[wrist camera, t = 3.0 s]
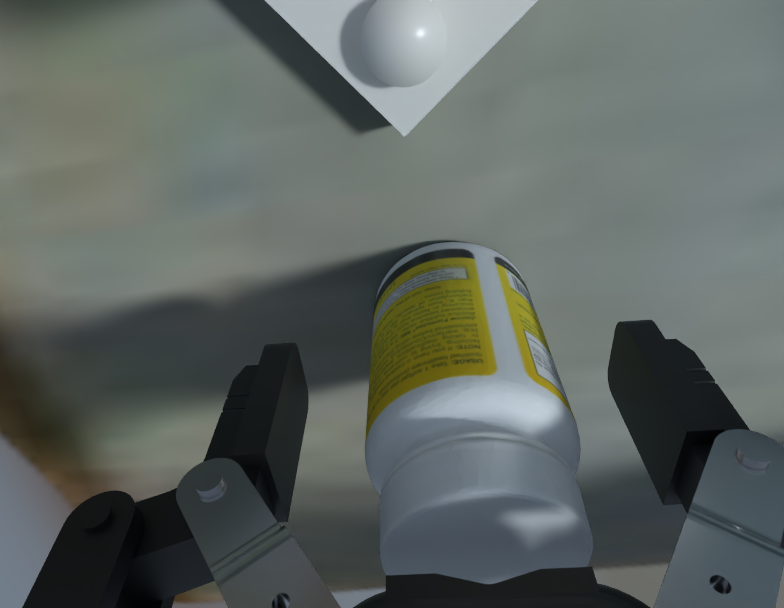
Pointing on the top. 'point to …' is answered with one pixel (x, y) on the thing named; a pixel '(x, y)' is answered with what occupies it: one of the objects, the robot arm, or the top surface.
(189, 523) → the robot arm
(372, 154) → the top surface
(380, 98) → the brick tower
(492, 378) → the supplement bottle
